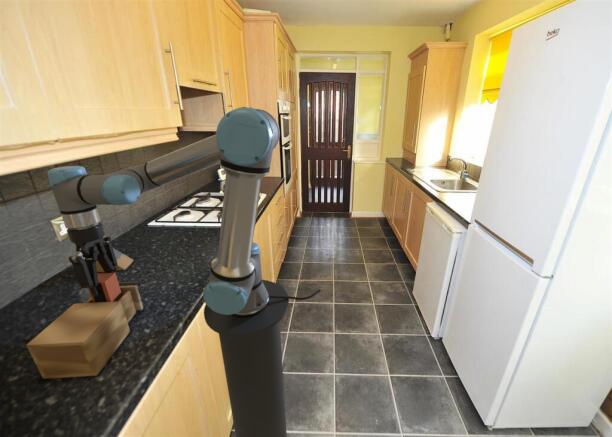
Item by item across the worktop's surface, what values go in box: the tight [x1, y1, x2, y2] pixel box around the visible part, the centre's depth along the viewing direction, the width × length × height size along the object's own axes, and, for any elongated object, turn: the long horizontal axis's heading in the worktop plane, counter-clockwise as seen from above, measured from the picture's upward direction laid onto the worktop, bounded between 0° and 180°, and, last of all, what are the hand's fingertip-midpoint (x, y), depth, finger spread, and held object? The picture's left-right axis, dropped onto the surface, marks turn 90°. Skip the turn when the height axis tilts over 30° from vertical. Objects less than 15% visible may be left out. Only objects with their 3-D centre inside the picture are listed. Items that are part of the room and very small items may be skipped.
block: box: [87, 272, 121, 303], centre depth 79 cm, size 5×5×7 cm
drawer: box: [85, 281, 144, 323], centre depth 83 cm, size 19×12×9 cm, turn 3°
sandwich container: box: [87, 247, 134, 273], centre depth 113 cm, size 9×15×15 cm, turn 98°
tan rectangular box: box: [26, 301, 131, 380], centre depth 71 cm, size 15×13×11 cm
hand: (107, 296), depth 80 cm, fingers closed on block, 5 cm apart
